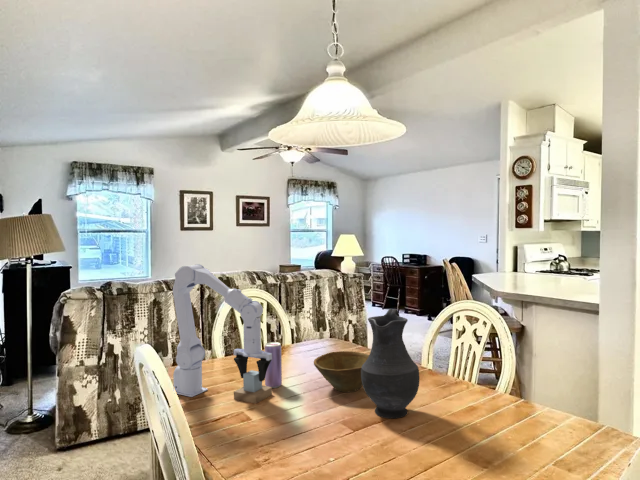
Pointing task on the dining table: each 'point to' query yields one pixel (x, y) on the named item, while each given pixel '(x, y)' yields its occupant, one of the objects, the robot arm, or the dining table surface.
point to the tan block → (253, 394)
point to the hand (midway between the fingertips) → (252, 378)
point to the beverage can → (274, 365)
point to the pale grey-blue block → (251, 381)
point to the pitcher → (389, 367)
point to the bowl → (342, 369)
